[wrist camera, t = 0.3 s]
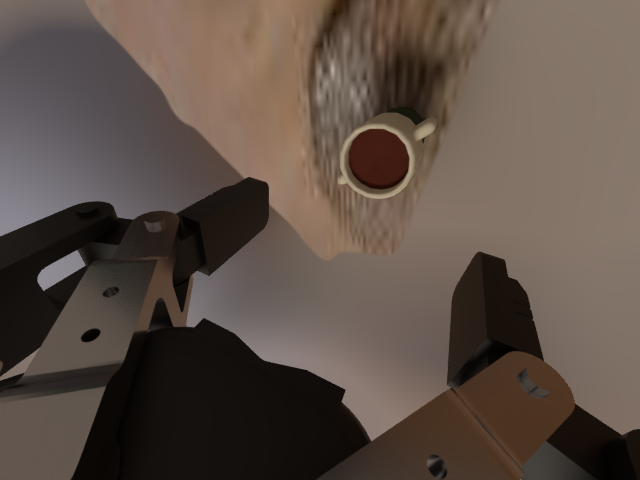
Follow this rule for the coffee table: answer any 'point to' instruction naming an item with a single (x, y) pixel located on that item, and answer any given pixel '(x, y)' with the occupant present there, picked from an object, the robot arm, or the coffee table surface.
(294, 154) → the coffee table surface
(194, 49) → the coffee table surface
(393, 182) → the character mug
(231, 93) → the coffee table surface
